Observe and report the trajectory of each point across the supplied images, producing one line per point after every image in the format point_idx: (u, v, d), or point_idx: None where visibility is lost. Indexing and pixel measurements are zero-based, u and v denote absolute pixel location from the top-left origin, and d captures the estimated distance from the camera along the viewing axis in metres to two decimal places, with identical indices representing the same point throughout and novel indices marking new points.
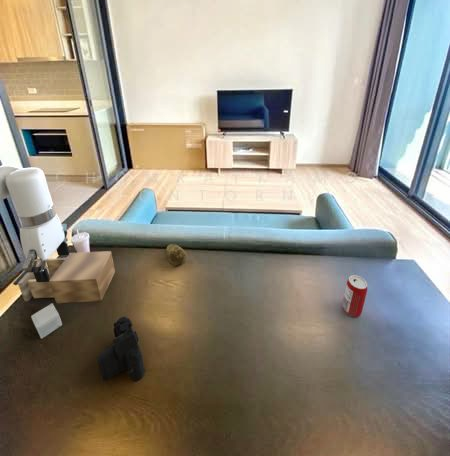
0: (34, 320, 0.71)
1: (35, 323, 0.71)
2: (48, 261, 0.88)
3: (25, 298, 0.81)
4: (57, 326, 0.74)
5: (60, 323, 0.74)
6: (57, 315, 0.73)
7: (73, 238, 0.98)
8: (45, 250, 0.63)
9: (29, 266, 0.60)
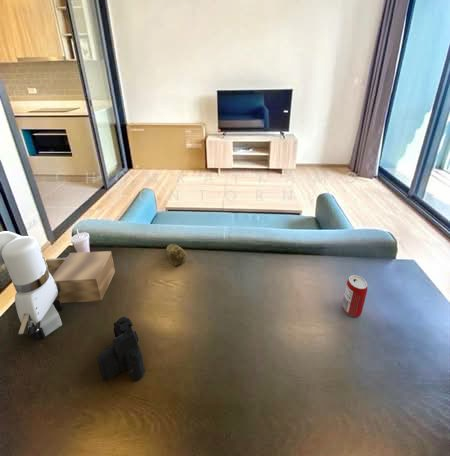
0: None
1: (35, 323, 0.71)
2: (48, 261, 0.88)
3: None
4: (57, 326, 0.74)
5: (60, 323, 0.74)
6: (57, 315, 0.73)
7: (73, 238, 0.98)
8: (38, 312, 0.68)
9: (25, 331, 0.65)
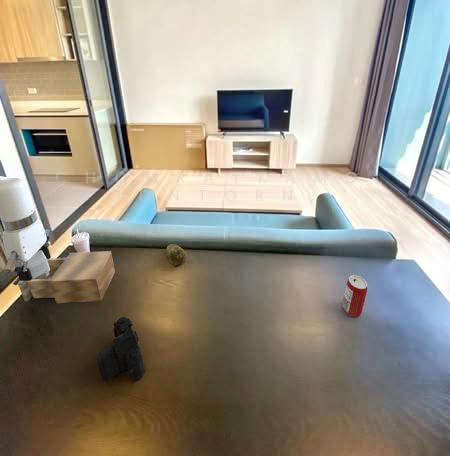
0: (22, 262, 0.73)
1: None
2: (48, 261, 0.88)
3: (25, 298, 0.81)
4: (45, 270, 0.75)
5: (48, 268, 0.76)
6: (45, 259, 0.74)
7: (73, 238, 0.98)
8: (26, 252, 0.69)
9: (11, 267, 0.66)
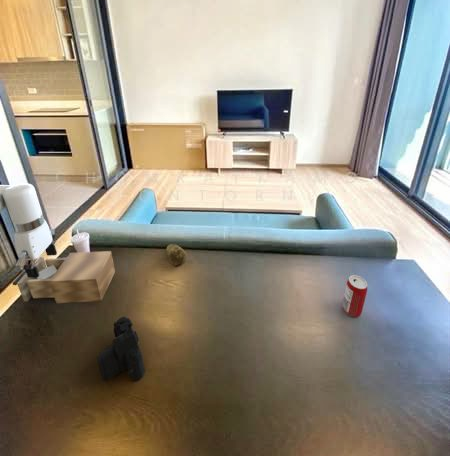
0: (38, 276, 0.83)
1: (38, 278, 0.83)
2: (47, 261, 0.88)
3: (25, 298, 0.81)
4: None
5: None
6: None
7: (73, 238, 0.98)
8: (35, 251, 0.77)
9: (21, 264, 0.74)
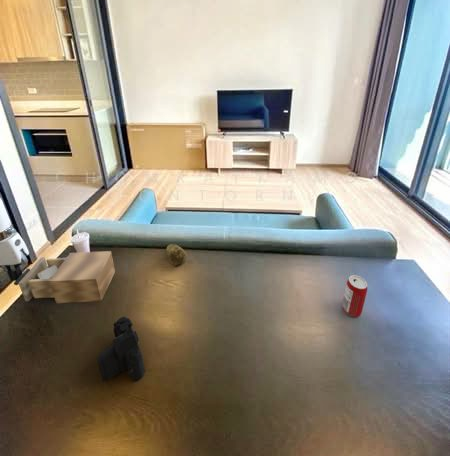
0: (40, 277, 0.84)
1: None
2: (49, 261, 0.89)
3: (26, 298, 0.81)
4: None
5: None
6: None
7: (73, 238, 0.98)
8: None
9: None
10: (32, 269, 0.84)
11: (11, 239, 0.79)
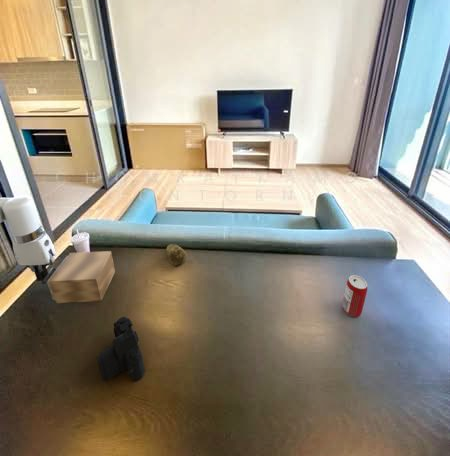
0: None
1: None
2: None
3: None
4: None
5: None
6: None
7: (73, 238, 0.98)
8: (18, 259, 0.80)
9: (22, 264, 0.83)
10: None
11: (41, 239, 0.79)
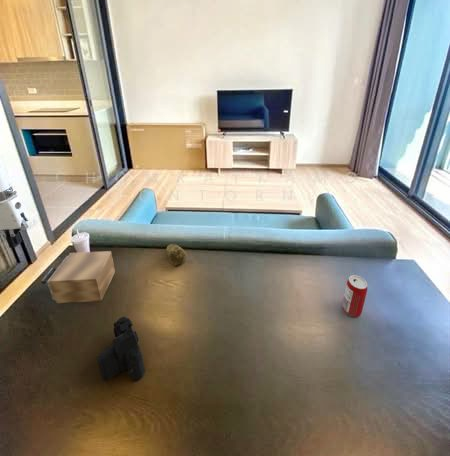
0: None
1: None
2: None
3: None
4: None
5: None
6: None
7: (73, 238, 0.98)
8: None
9: None
10: None
11: (11, 201, 0.74)
